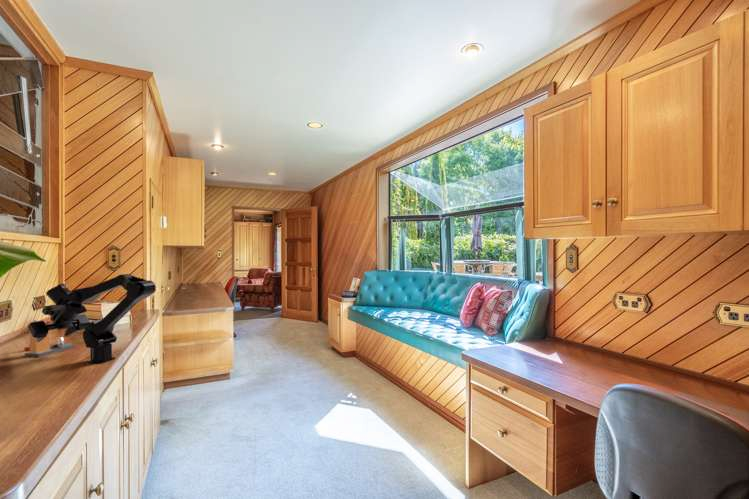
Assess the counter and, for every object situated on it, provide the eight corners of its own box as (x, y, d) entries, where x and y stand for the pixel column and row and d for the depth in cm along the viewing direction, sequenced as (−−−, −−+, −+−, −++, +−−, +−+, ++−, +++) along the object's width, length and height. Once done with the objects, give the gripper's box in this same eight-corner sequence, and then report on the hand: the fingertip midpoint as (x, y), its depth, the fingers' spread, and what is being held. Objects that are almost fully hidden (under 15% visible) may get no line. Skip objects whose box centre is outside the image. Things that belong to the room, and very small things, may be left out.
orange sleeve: (50, 349, 146) (50, 327, 146) (36, 352, 142) (36, 329, 142) (43, 348, 148) (43, 326, 148) (29, 351, 144) (29, 328, 144)
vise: (74, 347, 155) (74, 336, 155) (38, 357, 141) (38, 344, 141) (61, 346, 157) (61, 335, 157) (24, 356, 143) (24, 343, 143)
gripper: (85, 295, 149) (69, 319, 153) (30, 301, 132) (13, 328, 136) (98, 314, 146) (81, 338, 150) (43, 323, 129) (25, 350, 133)
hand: (51, 338), depth 142 cm, fingers open, 9 cm apart
